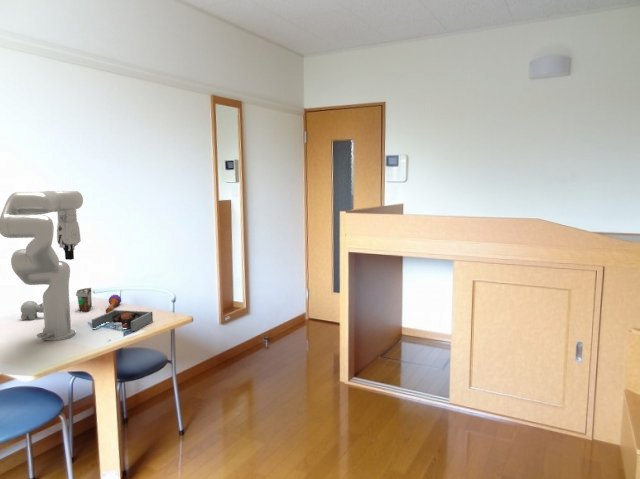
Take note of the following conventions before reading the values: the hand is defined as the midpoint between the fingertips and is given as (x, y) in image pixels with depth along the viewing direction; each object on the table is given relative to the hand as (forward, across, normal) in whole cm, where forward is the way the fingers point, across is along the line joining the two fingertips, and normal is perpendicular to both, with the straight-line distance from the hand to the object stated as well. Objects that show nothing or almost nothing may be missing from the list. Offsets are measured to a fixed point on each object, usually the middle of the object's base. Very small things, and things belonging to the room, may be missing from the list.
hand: (69, 259), depth 216 cm
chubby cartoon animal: (+29, +2, +21) cm, 36 cm away
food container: (+29, +20, +9) cm, 37 cm away
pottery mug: (+29, -3, -29) cm, 41 cm away
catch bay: (+29, -2, -26) cm, 39 cm away
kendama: (+30, +24, -4) cm, 39 cm away
